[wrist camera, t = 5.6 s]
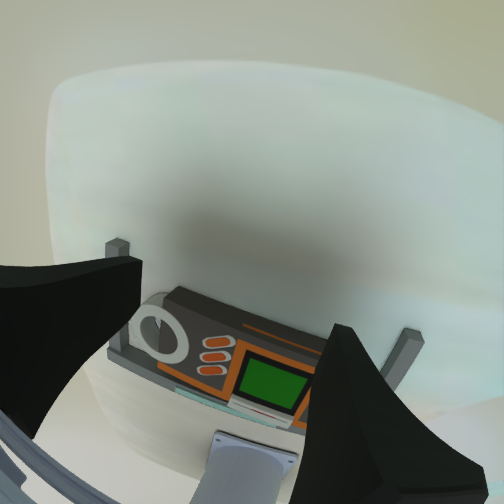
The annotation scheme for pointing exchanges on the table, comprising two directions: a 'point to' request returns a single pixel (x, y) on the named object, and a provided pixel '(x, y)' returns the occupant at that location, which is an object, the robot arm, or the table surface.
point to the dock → (148, 369)
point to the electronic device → (231, 354)
